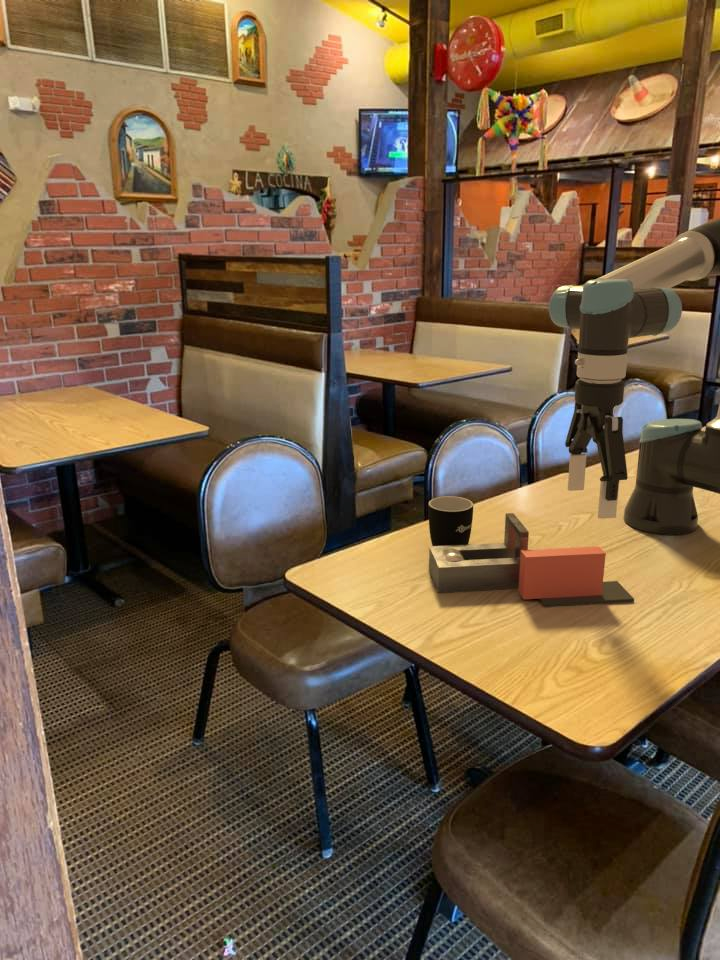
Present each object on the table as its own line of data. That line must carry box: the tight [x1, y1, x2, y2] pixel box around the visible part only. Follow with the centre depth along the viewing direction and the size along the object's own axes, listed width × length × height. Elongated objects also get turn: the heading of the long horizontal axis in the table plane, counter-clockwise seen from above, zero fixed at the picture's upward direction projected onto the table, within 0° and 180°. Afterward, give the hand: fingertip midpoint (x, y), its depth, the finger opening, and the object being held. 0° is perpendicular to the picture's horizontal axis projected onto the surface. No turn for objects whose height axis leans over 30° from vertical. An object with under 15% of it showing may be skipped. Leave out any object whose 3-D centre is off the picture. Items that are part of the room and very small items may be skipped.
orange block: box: [518, 545, 607, 600], centre depth 126 cm, size 14×3×8 cm, turn 95°
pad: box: [538, 580, 635, 608], centre depth 128 cm, size 16×7×1 cm, turn 95°
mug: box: [427, 495, 474, 546], centre depth 147 cm, size 12×9×10 cm
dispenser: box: [428, 512, 530, 594], centre depth 133 cm, size 16×10×11 cm, turn 95°
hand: (590, 503), depth 123 cm, fingers open, 13 cm apart
